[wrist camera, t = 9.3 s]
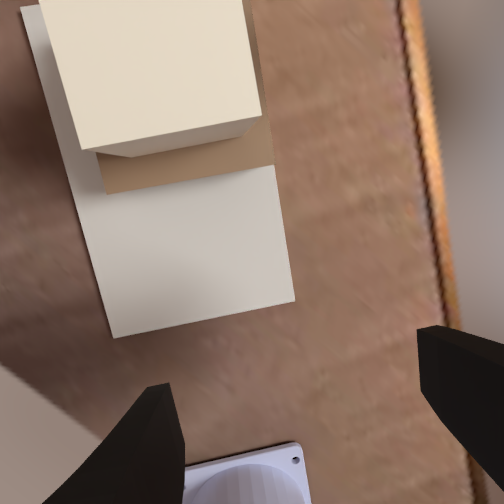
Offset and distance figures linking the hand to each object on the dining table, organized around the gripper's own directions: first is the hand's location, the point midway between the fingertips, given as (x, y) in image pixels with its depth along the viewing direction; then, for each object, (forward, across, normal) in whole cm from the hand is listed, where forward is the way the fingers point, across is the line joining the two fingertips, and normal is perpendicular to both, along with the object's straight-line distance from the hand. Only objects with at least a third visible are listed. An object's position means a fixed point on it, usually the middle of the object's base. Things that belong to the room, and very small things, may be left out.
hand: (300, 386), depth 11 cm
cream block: (+7, +2, -10) cm, 12 cm away
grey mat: (+10, +3, -6) cm, 13 cm away
